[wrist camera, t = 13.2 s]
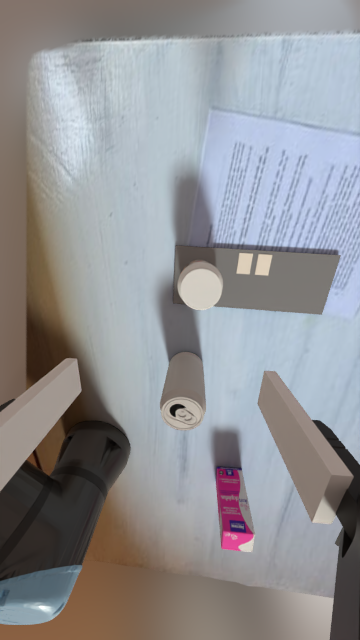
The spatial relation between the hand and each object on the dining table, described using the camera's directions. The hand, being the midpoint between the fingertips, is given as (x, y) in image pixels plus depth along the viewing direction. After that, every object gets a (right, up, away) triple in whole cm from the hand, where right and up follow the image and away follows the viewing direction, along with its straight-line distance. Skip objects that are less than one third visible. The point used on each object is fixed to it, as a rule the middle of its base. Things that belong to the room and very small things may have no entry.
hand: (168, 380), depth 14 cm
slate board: (+12, +11, +17) cm, 23 cm away
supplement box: (+12, -32, +32) cm, 47 cm away
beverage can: (+2, -4, +23) cm, 24 cm away
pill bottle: (+4, +11, +17) cm, 21 cm away
